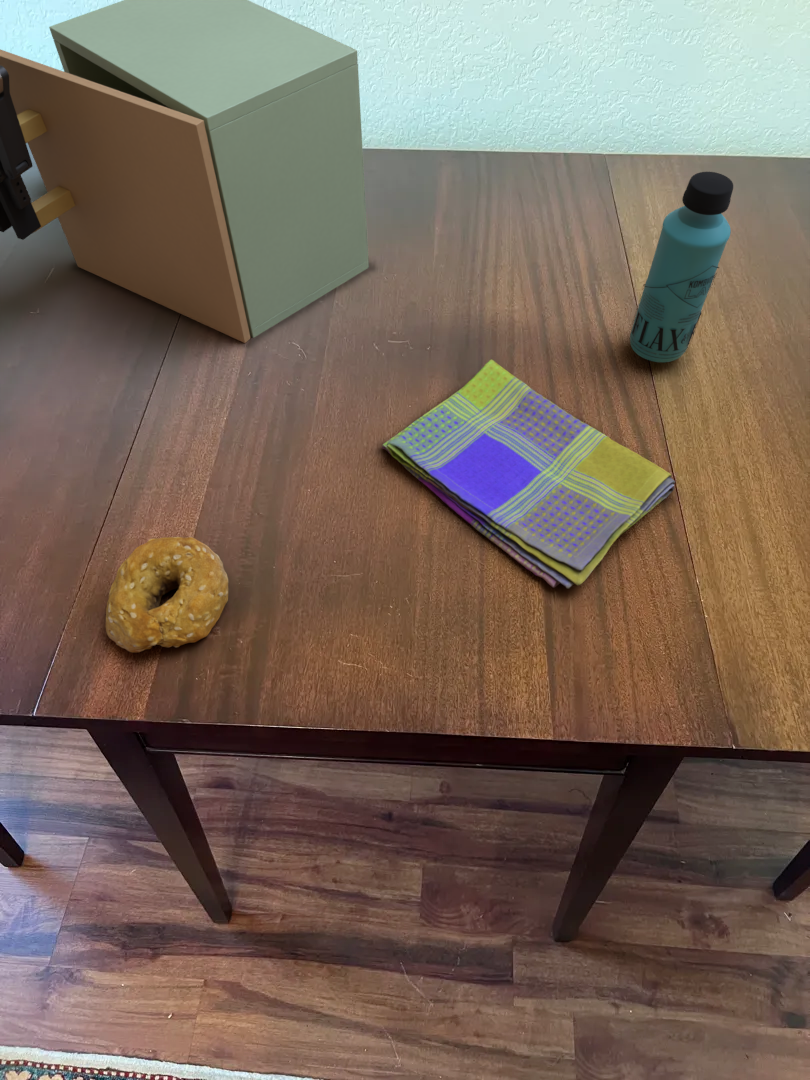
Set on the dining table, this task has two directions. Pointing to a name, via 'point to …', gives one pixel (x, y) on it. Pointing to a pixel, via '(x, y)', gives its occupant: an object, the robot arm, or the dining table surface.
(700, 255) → the beverage bottle
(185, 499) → the dining table surface
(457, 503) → the dish towel
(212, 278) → the cupboard door
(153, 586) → the bagel
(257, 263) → the cupboard
